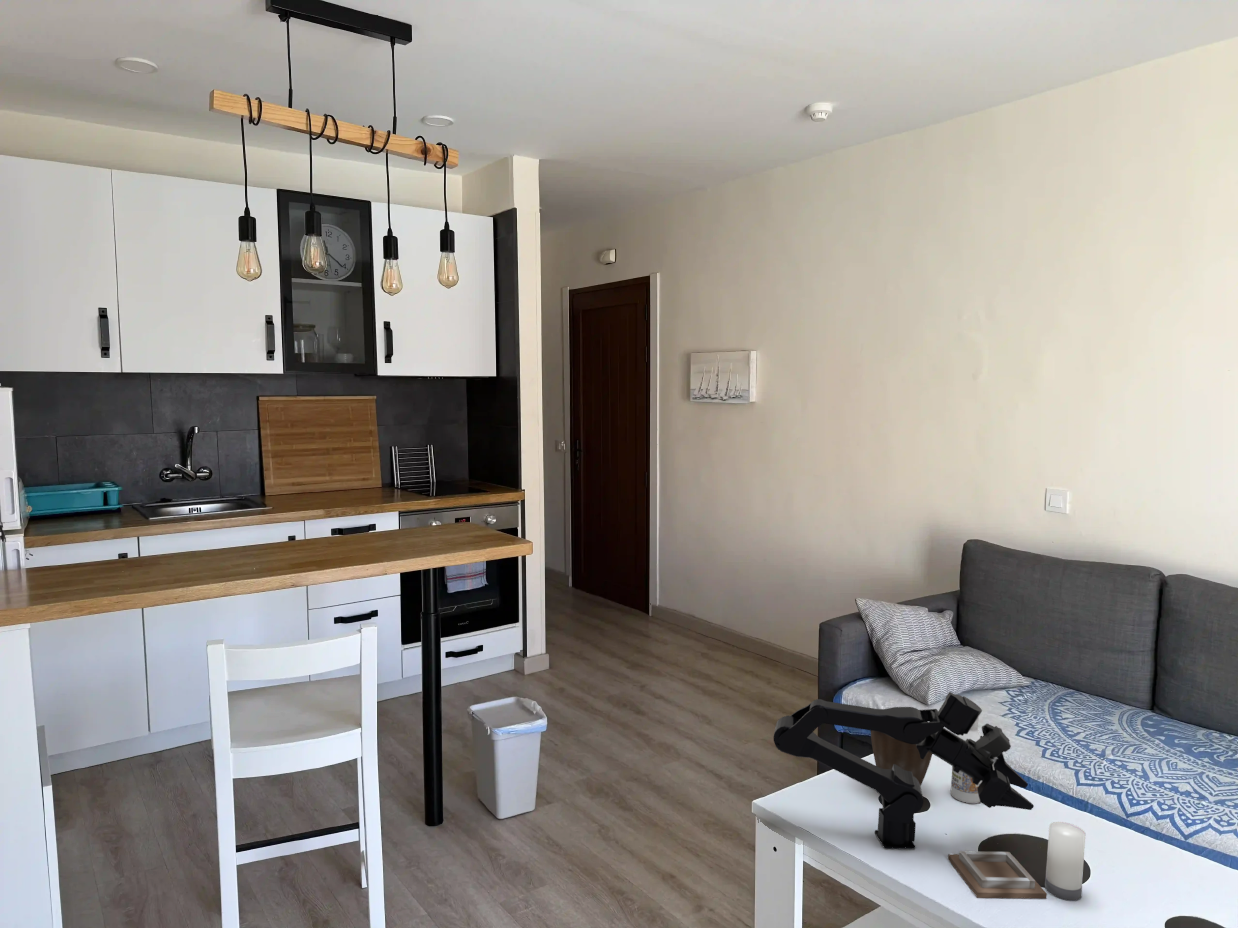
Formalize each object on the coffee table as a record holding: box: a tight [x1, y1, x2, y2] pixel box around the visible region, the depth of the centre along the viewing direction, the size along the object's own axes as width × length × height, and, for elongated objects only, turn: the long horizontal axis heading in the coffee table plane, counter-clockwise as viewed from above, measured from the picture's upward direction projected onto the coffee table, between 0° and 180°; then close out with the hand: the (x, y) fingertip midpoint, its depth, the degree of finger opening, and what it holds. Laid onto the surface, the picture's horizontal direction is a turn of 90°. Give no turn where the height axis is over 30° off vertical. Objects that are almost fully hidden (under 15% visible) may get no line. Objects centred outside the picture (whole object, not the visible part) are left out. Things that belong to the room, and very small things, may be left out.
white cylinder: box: [1044, 821, 1086, 902], centre depth 157 cm, size 6×6×12 cm
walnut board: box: [947, 850, 1048, 900], centre depth 161 cm, size 13×13×2 cm
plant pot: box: [870, 730, 933, 786], centre depth 195 cm, size 15×15×16 cm
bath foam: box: [950, 716, 982, 804], centre depth 193 cm, size 7×7×20 cm
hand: (1029, 796), depth 165 cm, fingers open, 9 cm apart
